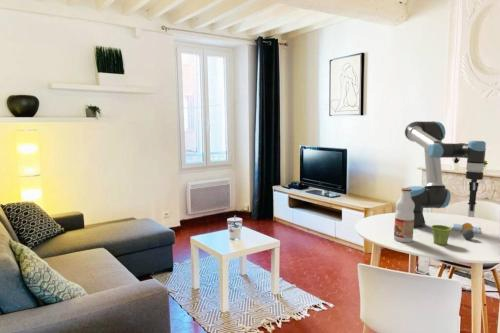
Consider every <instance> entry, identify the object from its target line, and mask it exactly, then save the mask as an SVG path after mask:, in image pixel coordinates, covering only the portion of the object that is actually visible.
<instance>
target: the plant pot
mask: <svg viewBox="0 0 500 333" xmlns="http://www.w3.org/2000/svg"><path fill="white" fill-rule="evenodd" d="M431 230H432V238H433V239H432V240H433V244H435V245H440V246H446V245H448V241H449V237H450V233H451V231H452V227H451V226H448V225H442V224H433V225H431Z"/></svg>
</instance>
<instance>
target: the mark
mask: <svg viewBox="0 0 500 333" xmlns="http://www.w3.org/2000/svg"><path fill="white" fill-rule="evenodd" d="M452 225H453V230H454V231H460V232H463V230H462V225H463V224H460V223H459V224H458V223H453V224H452ZM472 226H473V225H472ZM477 227H478V226H476V227H474V226H473V230H472V231H473V232H475V233H474V234H482V230H481V228H480V229H479V228H477Z"/></svg>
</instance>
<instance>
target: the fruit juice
mask: <svg viewBox="0 0 500 333" xmlns="http://www.w3.org/2000/svg"><path fill="white" fill-rule="evenodd" d="M400 190H401V191H400V192H401V195H400V197H399V199H398V200H397V201H396V203H395V206H396V211H395V213H394V227H393V228H394V229H393V231H394V232H393V239H394V240H395V241H397V242H399V243H400V242H401V243H412V242H413V240H414V212H413V210H414V208H415V204H414V202H413V200H412V199H411V189H410V188H407V187H402V188H401V189H400Z"/></svg>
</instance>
